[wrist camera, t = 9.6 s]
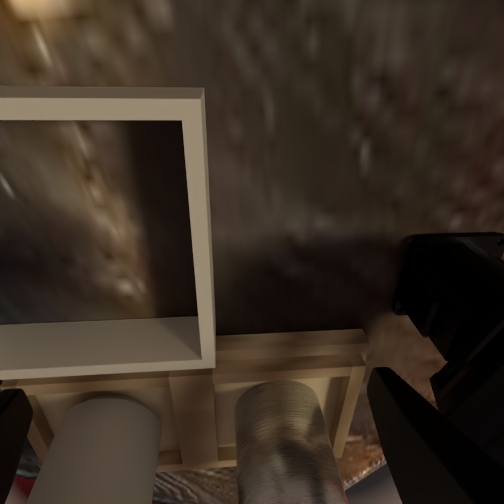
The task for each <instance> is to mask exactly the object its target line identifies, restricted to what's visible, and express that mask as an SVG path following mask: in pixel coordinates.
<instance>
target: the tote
mask: <svg viewBox="0 0 504 504" xmlns="http://www.w3.org/2000/svg"><path fill="white" fill-rule="evenodd" d="M0 120H182V127H183V139H184V151H185V163H186V175H187V187H188V199H189V211H190V223H191V235H192V247H193V259H194V271H195V283H196V295H197V307H198V316H191V317H168V318H145V319H122V320H100V321H77V322H54V323H31V324H8V325H0V380H8V379H25V378H43V377H61V376H79V375H97V374H115V373H133V372H151V371H169V370H187V369H205V368H215V367H216V317H215V297H214V277H213V257H212V237H211V217H210V197H209V177H208V157H207V137H206V117H205V97H204V88H188V87H74V86H0Z"/></svg>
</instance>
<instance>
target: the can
mask: <svg viewBox="0 0 504 504" xmlns="http://www.w3.org/2000/svg"><path fill="white" fill-rule="evenodd" d="M161 434H162V426H161V423H160V420H159V419H158V417H157V416H156V415H155V414H154V413H153V412H152V411H151V410H150V409H149V408H148V407H147V406H146V405H145V404H143V403H142V402H140V401H138V400H136V399H133V398H130V397H127V396H121V395H102V396H97V397H94V398H91V399H88V400H87V401H85V402H82V403H79V404H77V405H75V406H74V407H72V408H71V409H69V410H68V411H66V413H65V415H64V416H63V418H62V419H61V421H60V424H59V426H58V428H57V431H56V433H55V436H54V438H53V440H52V443H51V445H50V448H49V450H48V453H47V455H46V457H45V460H44V462H43V465H42V467H41V469H40V472H39V474H38V477H37V479H36V481H35V484H34V486H33V489H32V491H31V494H30V496H29V499H28V501H27V503H26V504H152V497H153V490H154V483H155V476H156V469H157V462H158V455H159V448H160V441H161Z"/></svg>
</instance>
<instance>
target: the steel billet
mask: <svg viewBox="0 0 504 504" xmlns="http://www.w3.org/2000/svg"><path fill="white" fill-rule="evenodd" d="M234 417H235V440H236V463H237V486H238V504H348V503H347V500H346V496H345V492H344V489H343V485H342V481H341V478H340V474H339V471H338V467H337V464H336V460H335V456H334V453H333V449H332V446H331V442H330V439H329V435H328V431H327V428H326V424H325V421H324V417H323V414H322V410H321V407H320V403H319V399H318V396H317V394H316V393H315V392H314V390H313V389H311V388H310V387H309V386H307V385H305V384H303V383H300V382H296V381H291V380H276V381H269V382H265V383H262V384H259V385H256V386H254V387H252V388H251V389H249V390H247V391H246V392H245V393H244V394H243V395H242V396H241V397H240V398H239V399H238V400H237V402H236V405H235V409H234Z"/></svg>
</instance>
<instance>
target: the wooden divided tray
mask: <svg viewBox="0 0 504 504" xmlns="http://www.w3.org/2000/svg"><path fill="white" fill-rule="evenodd" d="M369 344H370V343H369V341H368V339H367V337H366V335H365V333H364V331H363V329H348V330H327V331H307V332H286V333H265V334H245V335H224V336H216V367H215V368H205V369H187V370H169V371H151V372H133V373H115V374H97V375H79V376H61V377H43V378H25V379H8V380H3V382H2V384H1V385H0V389H1V391H2V390H5V389H14V388H21V389H23V390H24V391H25V393H26V395H27V397H28V399H29V401H30V403H31V405H32V408H33V418H32V421H31V425H30V428H29V431H28V435H27V438H28V440H29V442H30V444H31V445H32V447H33V449H34V451H35V453H36V454H37V456H38V458H39V460H40V462H41V464H42V465H43V462H44V460H45V457H46V455H47V453H48V450H49V448H50V445H51V443H52V440H53V438H54V436H55V433H56V431H57V428H58V426H59V424H60V421H61V419H62V418H63V416H64V415H65V413H66V411H68V410H69V409H71V408H72V407H74V406H75V405H77V404H79V403H82V402H85V401H87V400H88V399H91V398H94V397H97V396H102V395H121V396H127V397H130V398H133V399H136V400H138V401H140V402H142V403H143V404H145V405H146V406H147V407H148V408H149V409H150V410H151V411H152V412H153V413H154V414H155V415H156V416H157V417H158V419H159V420H160V423H161V426H162V434H161V441H160V448H159V455H158V462H157V469H156V472H165V471H178V470H191V469H203V468H216V467H229V466H237V463H236V440H235V417H234V409H235V405H236V402H237V400H238V399H239V398H240V397H241V396H242V395H243V394H244V393H245V392H246V391H247V390H249V389H251V388H252V387H254V386H256V385H259V384H262V383H265V382H269V381H276V380H291V381H296V382H300V383H303V384H305V385H307V386H309V387H310V388H311V389H313V390H314V392H315V393H316V394H317V396H318V399H319V403H320V407H321V410H322V414H323V417H324V421H325V424H326V428H327V431H328V435H329V439H330V442H331V446H332V449H333V453H334V456H335V458H341V457H342V453H343V450H344V446H345V442H346V439H347V435H348V432H349V428H350V424H351V421H352V417H353V413H354V410H355V406H356V402H357V399H358V395H359V391H360V388H361V384H362V380H363V377H364V373H365V369H366V364H365V359H366V355H367V351H368V347H369Z"/></svg>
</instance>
